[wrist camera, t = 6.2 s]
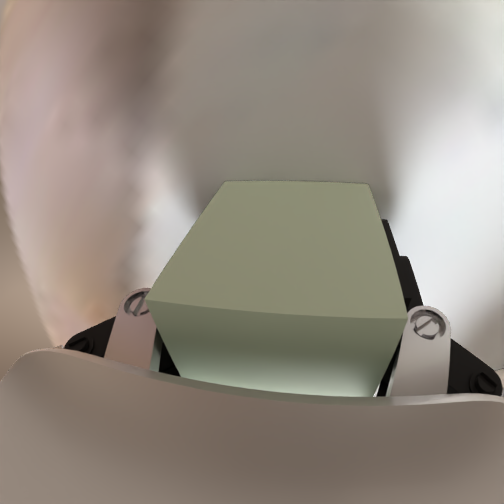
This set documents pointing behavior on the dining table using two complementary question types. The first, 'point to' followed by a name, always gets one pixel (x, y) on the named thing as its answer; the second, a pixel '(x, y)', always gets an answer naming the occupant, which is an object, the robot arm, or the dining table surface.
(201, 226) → the block
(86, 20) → the dining table surface
